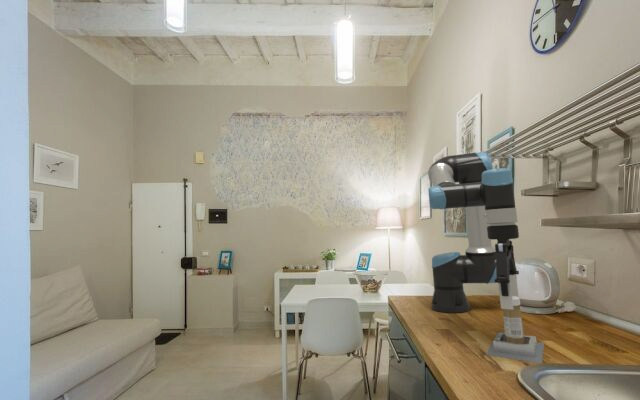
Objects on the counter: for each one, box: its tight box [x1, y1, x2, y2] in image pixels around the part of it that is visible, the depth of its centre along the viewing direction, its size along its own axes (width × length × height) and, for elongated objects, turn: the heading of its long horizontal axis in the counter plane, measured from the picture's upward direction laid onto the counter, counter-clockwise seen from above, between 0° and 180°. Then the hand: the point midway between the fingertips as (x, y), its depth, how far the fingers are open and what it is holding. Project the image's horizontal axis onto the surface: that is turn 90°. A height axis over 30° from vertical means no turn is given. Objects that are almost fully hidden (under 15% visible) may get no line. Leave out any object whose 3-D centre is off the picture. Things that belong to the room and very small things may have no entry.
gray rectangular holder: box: [485, 341, 545, 365], centre depth 86 cm, size 16×12×1 cm
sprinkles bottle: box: [502, 296, 525, 344], centre depth 87 cm, size 5×5×14 cm
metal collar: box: [492, 331, 537, 357], centre depth 86 cm, size 9×9×2 cm
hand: (510, 303), depth 88 cm, fingers open, 13 cm apart
